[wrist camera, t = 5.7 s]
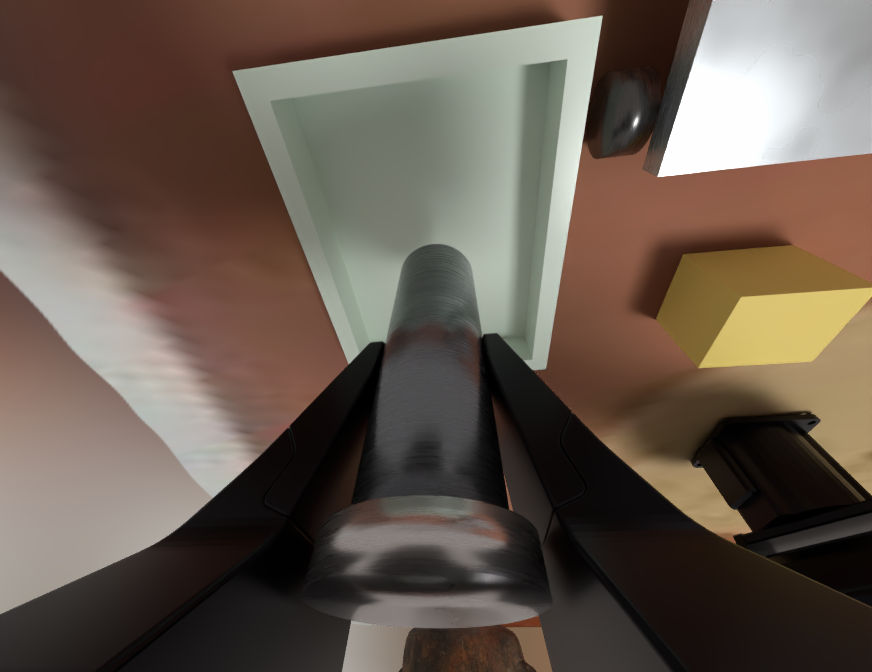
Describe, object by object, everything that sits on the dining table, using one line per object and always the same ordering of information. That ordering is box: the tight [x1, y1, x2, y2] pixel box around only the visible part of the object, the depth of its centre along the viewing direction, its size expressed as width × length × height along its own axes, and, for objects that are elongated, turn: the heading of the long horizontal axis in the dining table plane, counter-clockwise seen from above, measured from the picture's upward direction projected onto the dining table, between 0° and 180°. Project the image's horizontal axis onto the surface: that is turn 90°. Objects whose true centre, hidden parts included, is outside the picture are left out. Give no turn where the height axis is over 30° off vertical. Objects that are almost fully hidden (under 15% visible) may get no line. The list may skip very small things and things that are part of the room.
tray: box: [232, 16, 603, 370], centre depth 14 cm, size 11×14×2 cm
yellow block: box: [656, 245, 872, 368], centre depth 15 cm, size 5×4×4 cm
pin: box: [301, 244, 553, 628], centre depth 8 cm, size 4×4×10 cm
